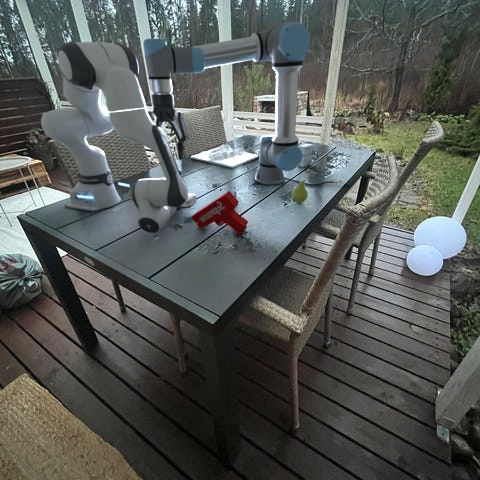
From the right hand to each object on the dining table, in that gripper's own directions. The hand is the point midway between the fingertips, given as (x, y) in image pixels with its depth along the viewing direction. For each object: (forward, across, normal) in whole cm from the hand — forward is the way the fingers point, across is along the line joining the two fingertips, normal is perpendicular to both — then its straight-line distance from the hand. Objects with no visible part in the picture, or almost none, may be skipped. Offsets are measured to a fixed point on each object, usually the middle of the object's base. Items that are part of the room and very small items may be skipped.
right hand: (170, 158), depth 107 cm
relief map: (+21, 0, -76) cm, 78 cm away
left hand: (+15, 0, -1) cm, 15 cm away
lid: (+5, 0, 0) cm, 5 cm away
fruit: (+21, -52, -15) cm, 58 cm away
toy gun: (+21, -24, +15) cm, 35 cm away
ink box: (+21, -52, -70) cm, 90 cm away
